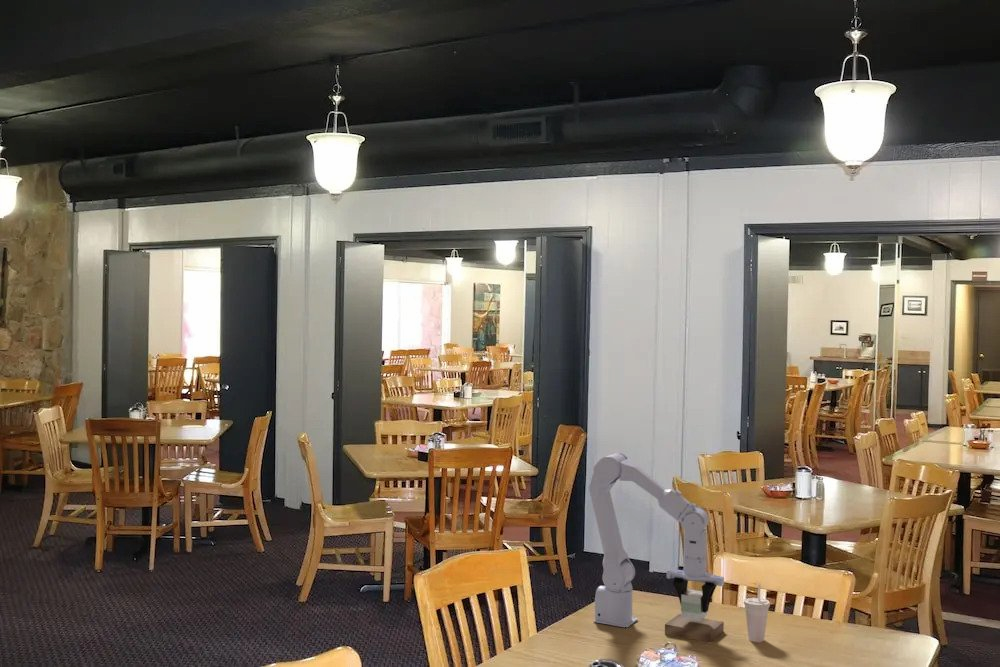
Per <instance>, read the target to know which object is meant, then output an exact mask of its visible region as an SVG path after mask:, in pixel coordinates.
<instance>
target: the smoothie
mask: <svg viewBox="0 0 1000 667" xmlns="http://www.w3.org/2000/svg"><path fill="white" fill-rule="evenodd" d="M743 605H744V610H745V617H746V627H747V636H748V640H749V641H750V642H753V643H763V642H765V636H766V628H767V620H768V613H769V608H770V607H771V606H770V605H771V604H770V601H769V600H768V599H766V598H762V597H761V583H758V584H757V597H746V598H744V599H743ZM762 641H763V642H762Z"/></svg>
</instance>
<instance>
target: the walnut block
mask: <svg viewBox="0 0 1000 667" xmlns="http://www.w3.org/2000/svg"><path fill="white" fill-rule="evenodd" d="M724 624H725V622H724V621H723V620H722V621H721V620H716V619H710V618H705V617H704V618H703V619H702V620H701V621H697V620H691V619H685V618H681V613H678V614H676V615H675V616H674V617H673V618H672V619H670V620H668V621H667V622H666V623H665V624H664V635H666V634H667V635H666V636H671V635H672V636H673V637H677V636H678V638H682V637H684V638H683V639H687V638H690V639H689V640H693V639H695V640H694V641H698V640H700V642H703V641H704V642H705V643H709V642H711V643H712V642H714V641H715V640H716V639H717V638H718V637H719V636H720V635H722V634H723V633H724V628H725V627H724ZM722 632H723V633H722ZM672 636H671V637H672ZM715 638H716V639H715ZM714 639H715V640H714Z"/></svg>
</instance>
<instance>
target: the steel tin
mask: <svg viewBox="0 0 1000 667" xmlns="http://www.w3.org/2000/svg"><path fill="white" fill-rule="evenodd" d="M680 611H681V612H680V614H681V618H685V619H691V620H697V621H701V620H702V619H703V618H705V617H707V615H708V611H707V612H706V613H704V612H703V593H702V590H695V589H688V588H687V590H686V591H685V592H684V593H683V594H681V604H680Z"/></svg>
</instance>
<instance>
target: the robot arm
mask: <svg viewBox="0 0 1000 667" xmlns="http://www.w3.org/2000/svg"><path fill="white" fill-rule="evenodd" d="M618 480H619V481H621V482H632V483H635V485H636V486H638V487H639V488H641V489H642V490H644V491H646V492H647V493H648V494H649V495H651V496H652V497H654V498H655V499H657V503H658V506H659V508H661V509H662V510H663V511H664V512H665V513H666V514H668V515H669V516H671V517H672V518H673V519H674V520H676V522H678V523H680V524H681V525H680V526H681V528H682V529H683V531H684V534H683V535H684V536H683V537H684V538H683V569H671V568H669V569H667V570H666V579H669V580H670V579H673V582H672V585H673V587H674V589H675V591H676V594H677V596H678V600H679V604H680V605H681V594H683V593H684V592H685V591H686V590H688V584H689V583H688V582H689V581H690V582H695V583H703V584H702V585H701V591H702V593H703V612H704V613H706V612H707V613H708V612H709V607H710V603H711V600H712V597H713V594H714V592H715V590H716V588H717V586H718V587H722V586H724V584H725V577H724V576H721V575H716V574H712V573H710V572H707V563H708V562H707V561H708V559H707V558H708V557H707V553H708V552H707V550H708V549H707V548H708V547H707V545H708V539H707V526H708V525H709V523H710V518H709V517H710V516H709V514H708V513H707V511H706V510H705V509H704V508H703V507H700V506H697V504H696V503H694V502H692V503H691V502H690V501H689V500H687V499H686V498H685V497H684V496H683V495H681V494H682V492H681V490H679V489H678V490H677V489H676V490H675V489H674V488H671V489H670V488H669V489H666V488H665V487H664V486H662V485H661V484H660V483H659V482H658V481H657V480H655V478H653V477H652V476H651V475H649V473H647V472H646V471H645V470H644V469H643V468H642V467H640V466H639V465H638V464H637V463H636V462H635V461H634V460H633V459H631V458H630V457H629V458H628V457H627V456H626V454H625V453H622V452H619V451H617V452H613V453H610V454H609V455H607V456H603V457H601V458H600V459H599V460H598V462H596V464H595V465H594V466H593V473H592V477H591V478H590V482H589V486H588V488H589V494H590V498H591V503H592V507H593V511H594V516H595V520H596V524H597V528H598V533H599V538H600V541H601V546H602V550H603V559H602V567H603V568H602V569H603V573H602V576H601V578H602V582H603V584H604V585H599V586H598V587H597V588H596V590H595V595H594V596H595V597H594V619H593V622H594V623H599V624H604V625H609V626H614V627H620V628H625V627H626V628H629V627H630V626H631V625H633V624H634V623H635V622H638V617H634V616H633V588H634V587H633V584H632V580H634V579H635V576H636V569H635V566H634V565H633V563H632V561H631V560H630V557H629V554H628V553H627V551H625V549H624V546H623V541H622V538H621V534H620V533H621V532H620V528H619V525H618V519H617V516H616V512H615V507H614V503H613V498H612V494H611V489H612V488H613V487H614V486H615V484H616V482H617V481H618ZM626 628H625V629H626Z"/></svg>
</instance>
